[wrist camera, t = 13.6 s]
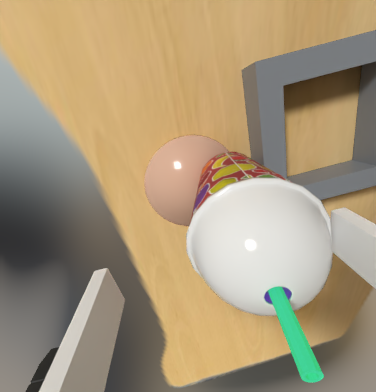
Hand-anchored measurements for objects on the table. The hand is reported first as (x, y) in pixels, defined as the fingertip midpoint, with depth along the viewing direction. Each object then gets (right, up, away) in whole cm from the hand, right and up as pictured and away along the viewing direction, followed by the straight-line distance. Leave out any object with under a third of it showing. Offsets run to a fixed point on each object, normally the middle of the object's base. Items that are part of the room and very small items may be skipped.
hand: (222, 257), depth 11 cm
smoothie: (+3, +6, +13) cm, 15 cm away
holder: (+13, +12, +12) cm, 22 cm away
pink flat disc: (-1, +5, +14) cm, 15 cm away
